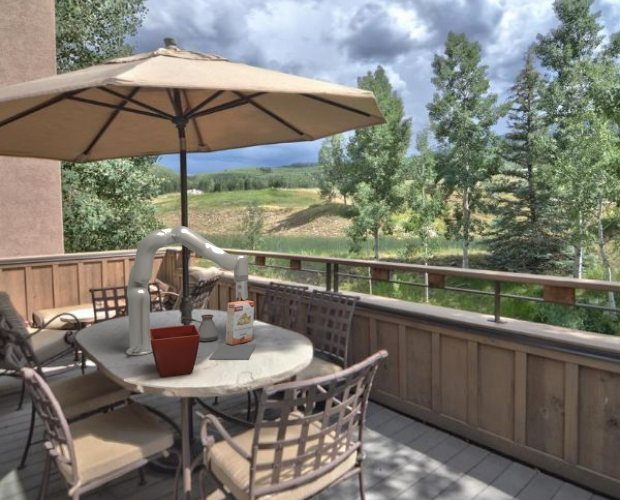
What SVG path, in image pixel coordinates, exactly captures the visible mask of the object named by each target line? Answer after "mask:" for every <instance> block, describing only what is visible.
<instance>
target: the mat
mask: <svg viewBox="0 0 620 500" xmlns="http://www.w3.org/2000/svg"><path fill="white" fill-rule="evenodd" d="M255 347H256V344H250V343H248V344H244V343H240V344H236V345H230V344H227V343H225V344H224V343H223V344H222V343H220V344H219V345H218V347H217V348H216V349H215V350H214V351H213V353H212V354H211V355H210V357H209V358H208V360H210V361H215V360H216V361H219V360H220V361H225V360H226V361H232V360H233V361H235V360H236V361H249V360H250V358H251V356H252V354H253V352H254V350H255Z"/></svg>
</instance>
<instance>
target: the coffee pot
mask: <svg viewBox="0 0 620 500" xmlns="http://www.w3.org/2000/svg"><path fill="white" fill-rule="evenodd" d="M200 317H201V320H198V319H194V318H191V317H187V316H181V317H180V318H179V321H182V320H183V319H184V320H187V321H191V322H195V323H199V324H200V325H199V328H198V329H197V330H198V332H199V334H200V339H199V342H202V343H203V342H204V343H209V342H213V341H216V339H217V338H218V337H219V331H218V329H217V327H216V325H215V321H214V320H213V317H214V315H213V314H202V315H200Z"/></svg>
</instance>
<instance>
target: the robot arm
mask: <svg viewBox="0 0 620 500" xmlns="http://www.w3.org/2000/svg"><path fill="white" fill-rule="evenodd" d="M175 244H181V245H182V246H184V247H186V248H188V250H190V251H192V252H193V253H195V254H197V255H198V256H199V257H202V258H204V259H207V260H209V261H210V262H213V263H215V264H216V265H218V266H219V267H220V268H221V269H222V270H225V271H228V272H229V271H230V272H231V271H233V282H234V283H235V299H236V302H238V301H245V300H248V298H249V297H248V296H249V295H248V294H249V293H248V282H249V256H248V254H235V255H232V254H229V253H228V252H227V251H225V250H223V249H222V248H220V247H218V246H217V245H215V243H212V242H211V241H210V240H208V239H206V238H205V237H203V236H202V235H200V234H198V233H196V232H195V231H194V230H192V229H191V228H189V227H187V226H184V225H179V226H178V225H177V226H174V227H166V228H160V229H155V230H152V231H151V232H150V233H149V234H147V235H145V237H143V238H142V239H141V241H140V242H139V243H138V245H137V247H136V248H137V249H136V252H135V258H134V263H133V265H132V266H131V267H130V270H129V275H128V282H127V289H126V298H127V304H128V305H127V306H128V308H127V311H128V315H127V316H128V334H129V335H128V338H129V340H128V341H129V347H128V349H126V351H125V352H126V355H129V356H143V355H149V354H150V353H153V352H152V347H151V340H150V329H151V313H150V312H151V308H150V307H151V295H150V293H149V291H148V290H149V284H150V281H151V279H152V278H153V271H154V270H153V268H154V261H155V257H156V253H157V252H158V250H159V249H162V248H165V247H166V246H169V245H175Z"/></svg>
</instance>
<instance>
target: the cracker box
mask: <svg viewBox="0 0 620 500" xmlns="http://www.w3.org/2000/svg"><path fill="white" fill-rule="evenodd" d="M226 308H227V309H226V324H225V325H226V329H225V344H230V345H236V344H244V343H249V342H252V341H253V331H254V316H255V315H254V314H255V301H252V300H248V299H246V300H245V301H232V302H227V307H226Z"/></svg>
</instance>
